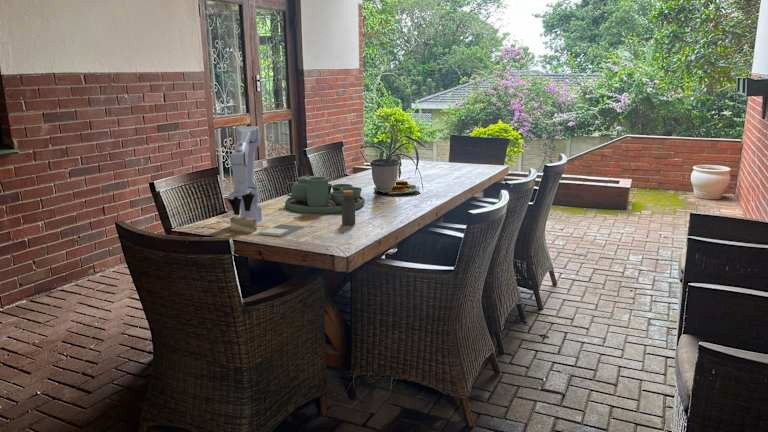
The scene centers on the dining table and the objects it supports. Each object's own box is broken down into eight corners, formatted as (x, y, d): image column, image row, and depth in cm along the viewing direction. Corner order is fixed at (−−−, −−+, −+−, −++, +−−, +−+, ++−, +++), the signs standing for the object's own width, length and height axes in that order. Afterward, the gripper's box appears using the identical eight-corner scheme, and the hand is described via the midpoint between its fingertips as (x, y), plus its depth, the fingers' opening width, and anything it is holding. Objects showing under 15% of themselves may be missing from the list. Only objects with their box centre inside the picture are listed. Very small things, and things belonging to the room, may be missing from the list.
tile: (270, 227, 254) (288, 229, 251) (270, 230, 255) (288, 232, 251) (260, 231, 248) (279, 233, 245) (260, 234, 248) (279, 236, 245)
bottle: (355, 222, 270) (354, 189, 267) (355, 225, 265) (354, 192, 261) (342, 222, 270) (341, 189, 267) (341, 225, 264) (341, 192, 261)
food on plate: (398, 199, 325) (398, 187, 323) (367, 193, 342) (366, 181, 341) (429, 192, 342) (429, 181, 341) (398, 187, 360) (398, 176, 358)
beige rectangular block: (235, 230, 259) (234, 216, 258) (256, 232, 255) (256, 218, 254) (231, 231, 256) (230, 217, 255) (252, 233, 252) (252, 220, 251)
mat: (280, 225, 266) (280, 224, 266) (306, 228, 261) (306, 226, 261) (254, 236, 248) (254, 234, 248) (281, 239, 243) (281, 237, 243)
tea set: (375, 209, 298) (375, 176, 294) (296, 217, 282) (295, 182, 279) (348, 196, 333) (348, 166, 330) (277, 202, 318) (275, 171, 314)
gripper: (237, 184, 243) (239, 217, 246) (258, 178, 256) (260, 210, 259) (223, 183, 246) (225, 215, 249) (244, 177, 259) (246, 208, 262)
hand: (242, 212), depth 254 cm, fingers open, 7 cm apart
